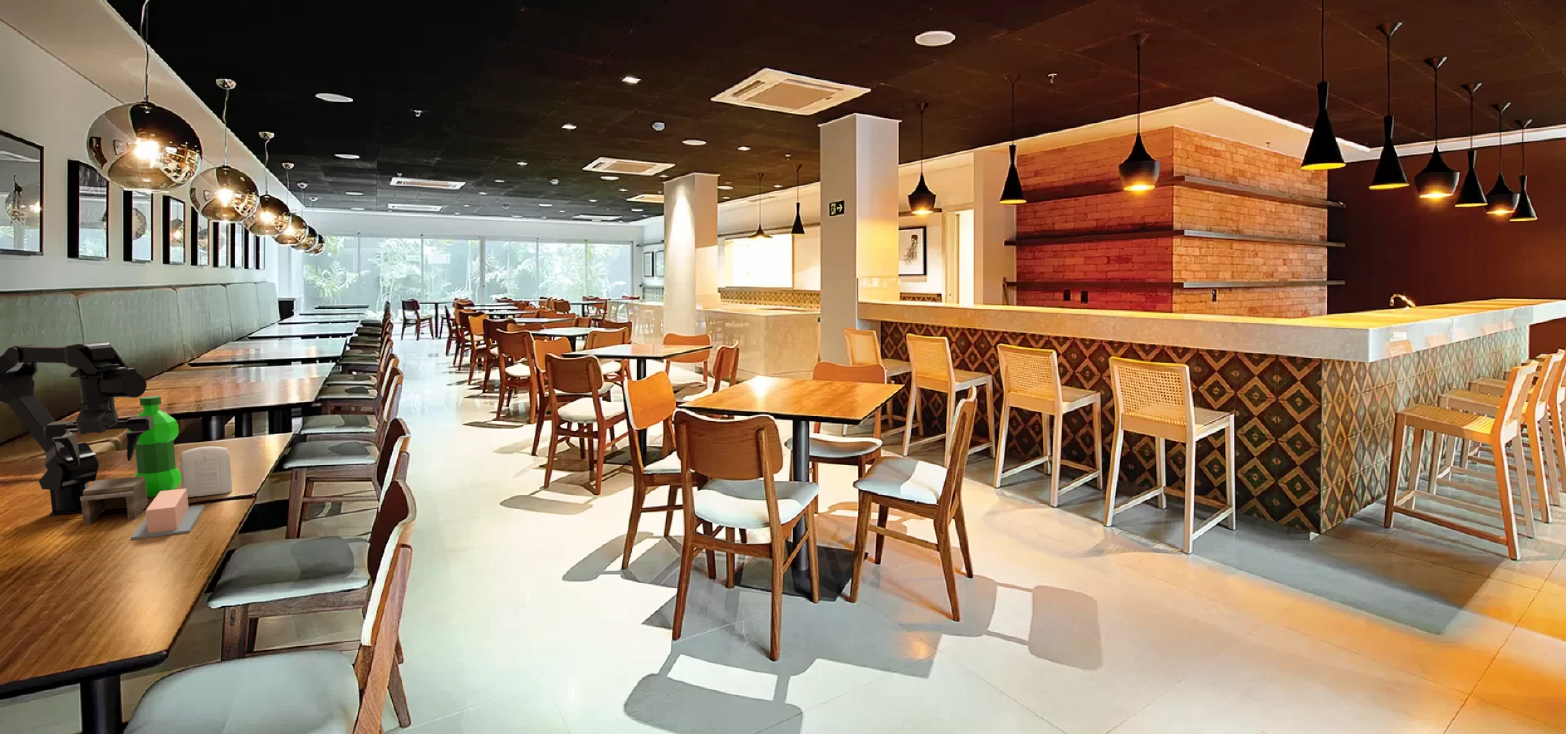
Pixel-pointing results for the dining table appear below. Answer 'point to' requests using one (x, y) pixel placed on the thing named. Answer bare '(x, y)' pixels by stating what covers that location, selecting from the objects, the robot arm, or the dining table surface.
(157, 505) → the block
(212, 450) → the white arched slab
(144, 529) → the slate mat
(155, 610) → the dining table surface
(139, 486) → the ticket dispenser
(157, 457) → the plastic bottle
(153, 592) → the dining table surface
